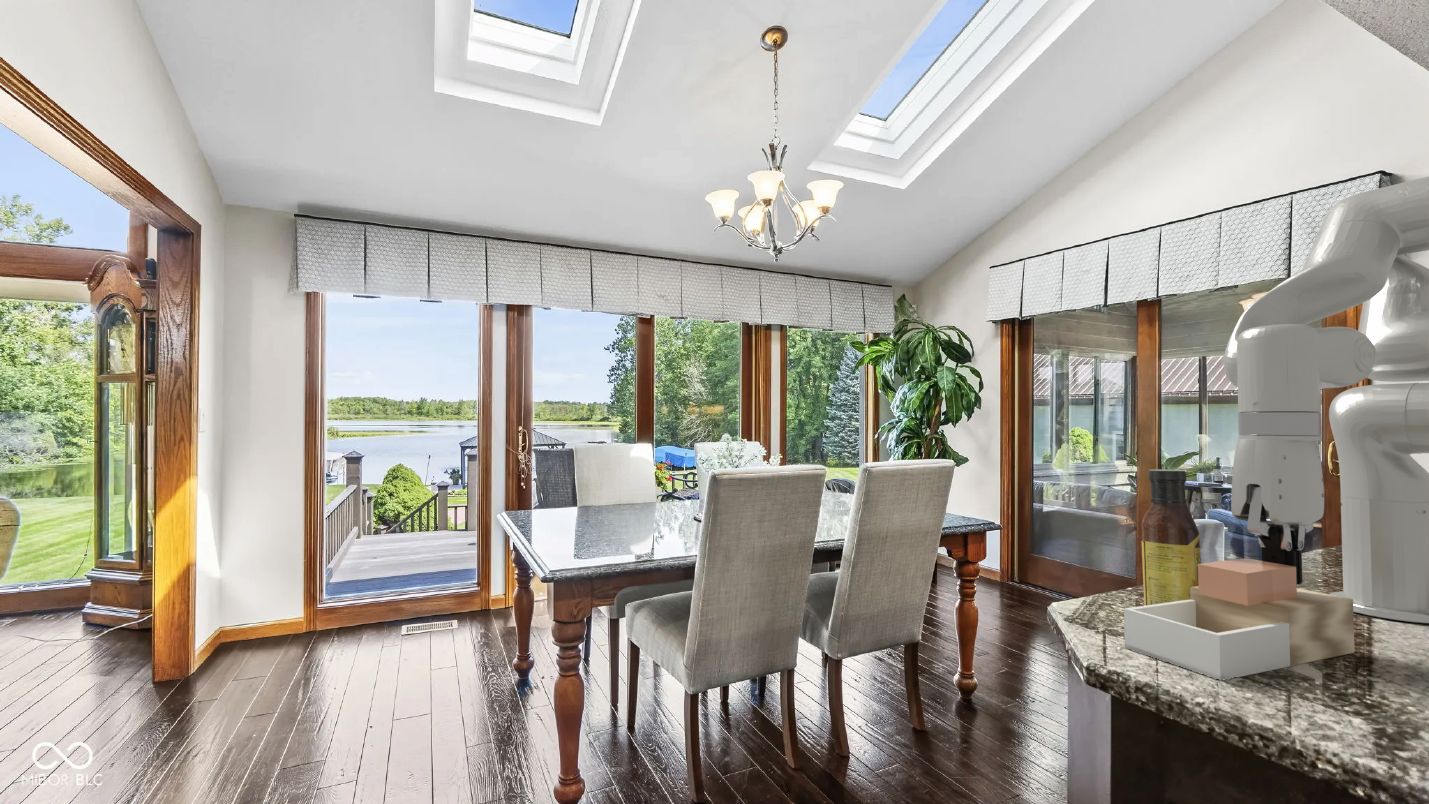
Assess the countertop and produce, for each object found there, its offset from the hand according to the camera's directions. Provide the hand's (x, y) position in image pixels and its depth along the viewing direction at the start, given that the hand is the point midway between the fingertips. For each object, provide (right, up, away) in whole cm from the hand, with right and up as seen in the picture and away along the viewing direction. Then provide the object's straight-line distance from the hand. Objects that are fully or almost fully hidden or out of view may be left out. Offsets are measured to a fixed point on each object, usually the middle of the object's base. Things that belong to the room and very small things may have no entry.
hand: (1282, 581), depth 76 cm
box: (-13, -7, -5) cm, 16 cm away
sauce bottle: (-8, -8, +7) cm, 13 cm away
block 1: (-8, -1, -3) cm, 9 cm away
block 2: (-4, -1, -1) cm, 4 cm away
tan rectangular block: (-2, -7, -1) cm, 8 cm away
